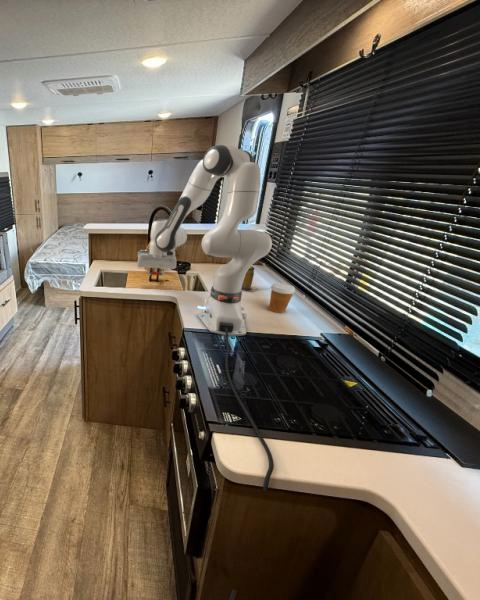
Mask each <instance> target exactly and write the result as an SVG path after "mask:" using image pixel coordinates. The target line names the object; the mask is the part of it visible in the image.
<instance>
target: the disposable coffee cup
mask: <svg viewBox="0 0 480 600" xmlns="http://www.w3.org/2000/svg"><path fill="white" fill-rule="evenodd" d="M295 293H296V287H295V286H293V285H292V284H288V283H285V282H274V283H272V284H271V286H270V299H269V307H268V309H269V311H271V312H273V313H278V314H279V313H281V314H283V313H285V312H286V309H287V307H288V305H289V303H290V301H291V299H292V297H293V295H294V294H295Z"/></svg>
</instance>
